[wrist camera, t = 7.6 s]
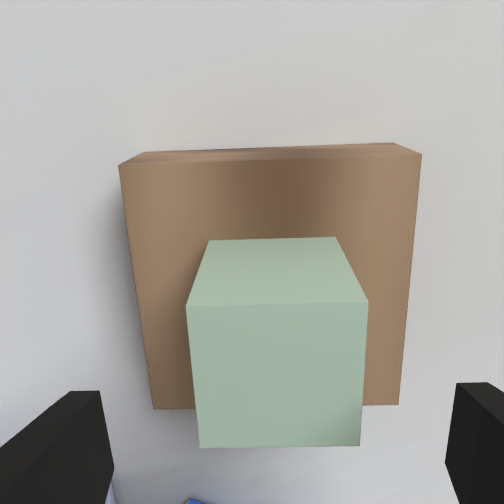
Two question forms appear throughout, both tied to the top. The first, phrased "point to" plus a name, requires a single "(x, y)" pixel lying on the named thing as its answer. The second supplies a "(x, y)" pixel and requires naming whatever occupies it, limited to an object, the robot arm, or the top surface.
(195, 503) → the medicine box
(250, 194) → the walnut base block
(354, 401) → the sage block
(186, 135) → the top surface
